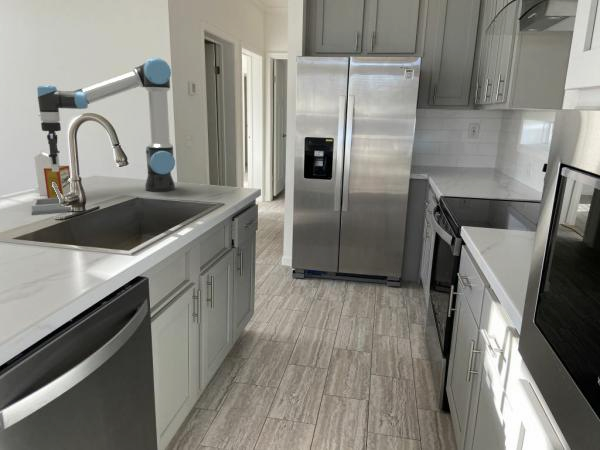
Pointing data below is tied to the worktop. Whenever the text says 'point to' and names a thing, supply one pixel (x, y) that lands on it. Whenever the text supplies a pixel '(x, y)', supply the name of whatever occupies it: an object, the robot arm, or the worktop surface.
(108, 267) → the worktop surface
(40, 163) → the long grey-white prism
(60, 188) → the baking soda box
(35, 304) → the worktop surface
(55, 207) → the dock
